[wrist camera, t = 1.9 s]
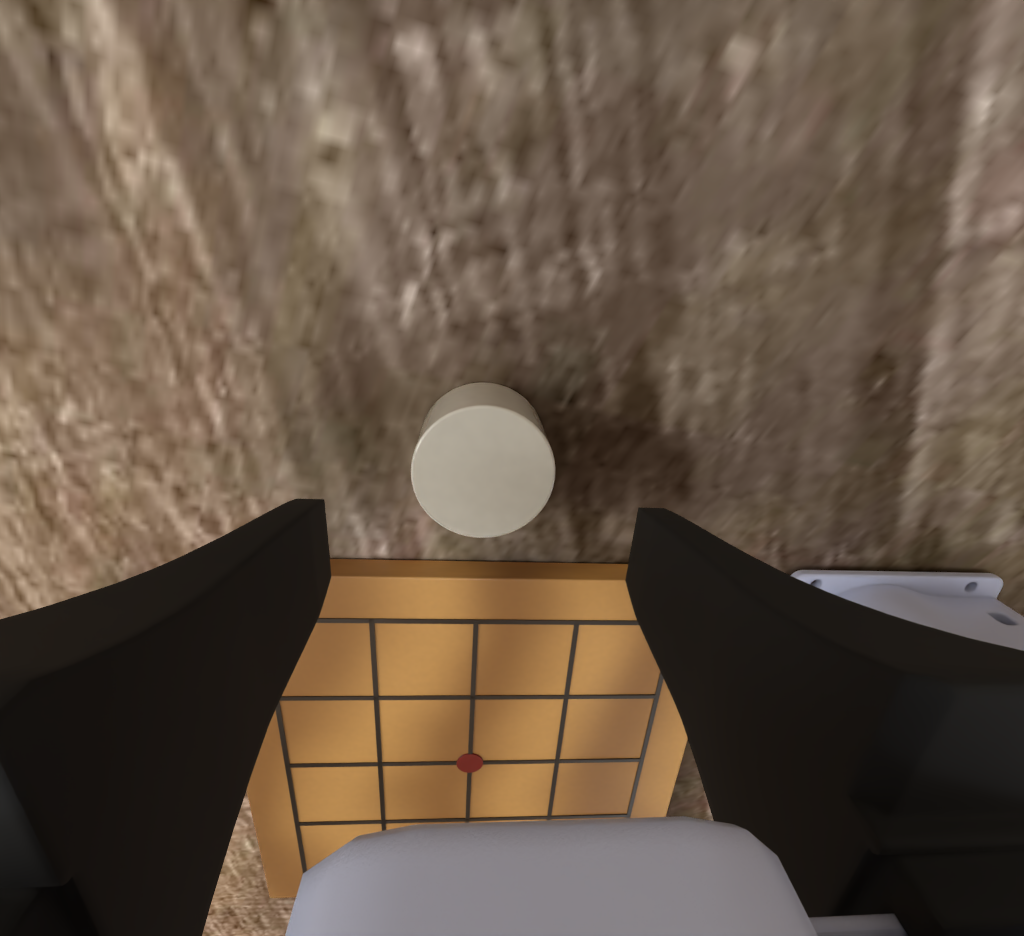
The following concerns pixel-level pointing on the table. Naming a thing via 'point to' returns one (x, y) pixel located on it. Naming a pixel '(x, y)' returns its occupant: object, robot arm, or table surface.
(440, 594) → the game board
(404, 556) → the table surface
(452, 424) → the white stone
